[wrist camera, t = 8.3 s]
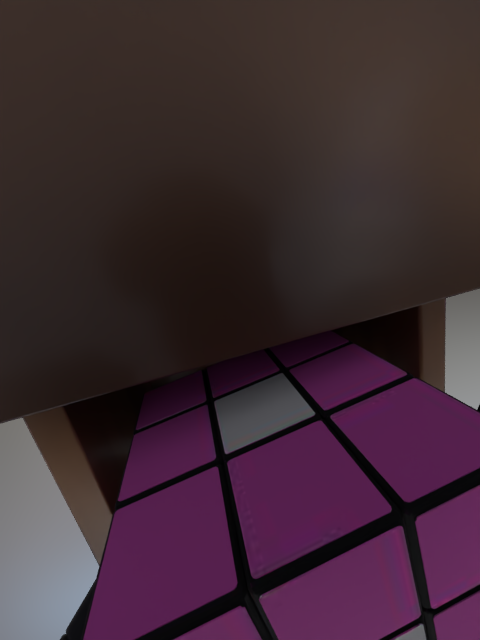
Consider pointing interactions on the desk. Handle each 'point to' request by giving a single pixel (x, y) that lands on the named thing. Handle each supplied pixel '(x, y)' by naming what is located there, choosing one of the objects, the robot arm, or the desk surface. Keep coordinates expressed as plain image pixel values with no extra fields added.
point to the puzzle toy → (295, 505)
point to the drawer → (123, 405)
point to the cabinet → (224, 180)
